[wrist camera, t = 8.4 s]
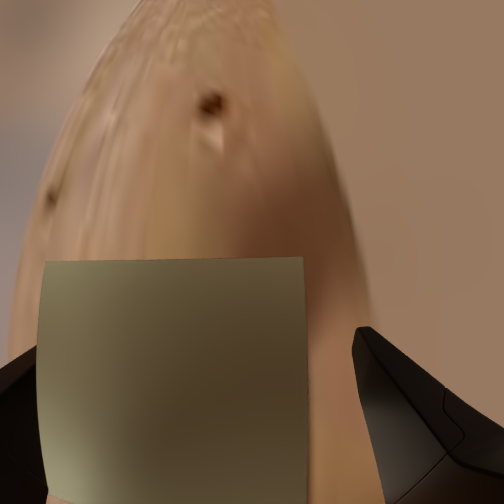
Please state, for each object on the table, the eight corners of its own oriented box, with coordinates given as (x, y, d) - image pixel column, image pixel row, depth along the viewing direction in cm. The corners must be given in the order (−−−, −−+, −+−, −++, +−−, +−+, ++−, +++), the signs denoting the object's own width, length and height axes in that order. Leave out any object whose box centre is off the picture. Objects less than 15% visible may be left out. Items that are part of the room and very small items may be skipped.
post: (275, 409, 15) (304, 534, 3) (191, 408, 15) (49, 494, 3) (274, 328, 16) (303, 256, 5) (191, 328, 17) (45, 261, 5)
